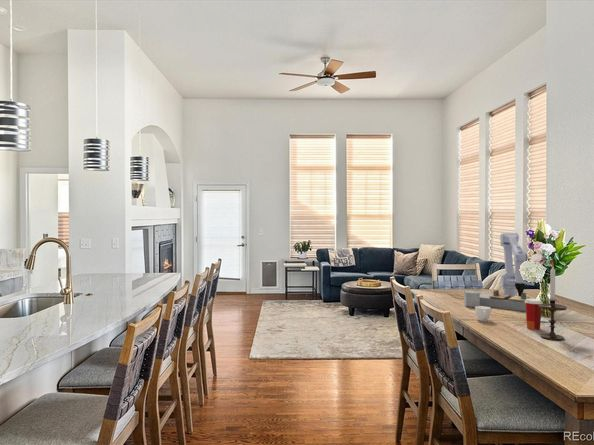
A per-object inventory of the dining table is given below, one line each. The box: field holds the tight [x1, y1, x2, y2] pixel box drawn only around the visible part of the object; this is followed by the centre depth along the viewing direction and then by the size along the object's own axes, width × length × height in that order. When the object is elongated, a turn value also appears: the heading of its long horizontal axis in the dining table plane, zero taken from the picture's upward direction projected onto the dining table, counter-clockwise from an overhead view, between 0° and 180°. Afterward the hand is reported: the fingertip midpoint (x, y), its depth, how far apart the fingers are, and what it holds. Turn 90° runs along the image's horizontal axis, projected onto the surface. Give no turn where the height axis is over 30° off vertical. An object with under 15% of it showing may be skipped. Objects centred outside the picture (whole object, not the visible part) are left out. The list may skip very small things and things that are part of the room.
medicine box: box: [463, 291, 481, 308], centre depth 275 cm, size 8×4×9 cm, turn 84°
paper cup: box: [525, 298, 544, 331], centre depth 219 cm, size 8×8×14 cm
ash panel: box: [508, 292, 531, 302], centre depth 270 cm, size 15×8×4 cm, turn 138°
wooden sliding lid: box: [489, 289, 511, 299], centre depth 277 cm, size 15×8×4 cm, turn 138°
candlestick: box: [539, 260, 567, 342], centre depth 202 cm, size 11×11×35 cm
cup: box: [474, 306, 492, 322], centre depth 236 cm, size 8×10×7 cm
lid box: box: [480, 293, 526, 312], centre depth 275 cm, size 16×32×5 cm, turn 48°
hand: (520, 296), depth 270 cm, fingers closed
